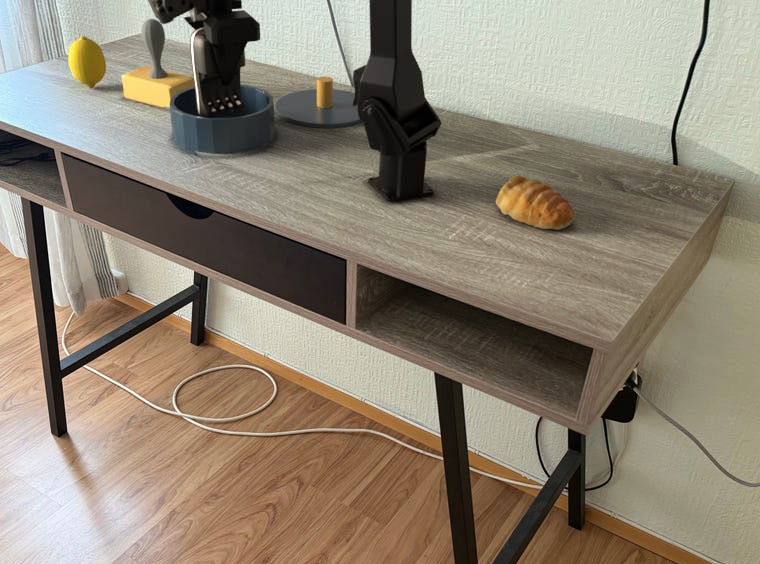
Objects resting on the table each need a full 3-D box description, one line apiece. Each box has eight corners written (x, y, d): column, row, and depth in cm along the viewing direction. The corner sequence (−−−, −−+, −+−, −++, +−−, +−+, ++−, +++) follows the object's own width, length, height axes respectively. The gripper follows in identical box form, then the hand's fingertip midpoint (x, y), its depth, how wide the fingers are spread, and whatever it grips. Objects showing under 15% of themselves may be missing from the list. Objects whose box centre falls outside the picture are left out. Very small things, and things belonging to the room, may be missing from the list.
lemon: (66, 91, 130) (57, 39, 125) (85, 80, 134) (76, 29, 129) (97, 95, 128) (89, 43, 123) (115, 84, 133) (108, 33, 128)
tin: (288, 149, 113) (288, 111, 110) (188, 163, 109) (184, 125, 105) (256, 114, 124) (254, 79, 121) (163, 126, 119) (159, 89, 116)
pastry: (584, 221, 98) (590, 192, 96) (552, 240, 95) (558, 210, 92) (521, 195, 104) (525, 167, 101) (488, 212, 100) (492, 183, 97)
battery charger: (210, 122, 111) (202, 35, 104) (194, 114, 113) (186, 28, 106) (252, 111, 115) (247, 26, 108) (236, 103, 117) (230, 20, 110)
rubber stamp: (197, 100, 128) (190, 20, 120) (173, 111, 124) (164, 29, 116) (148, 88, 131) (138, 9, 124) (123, 98, 127) (111, 18, 120)
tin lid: (390, 124, 122) (392, 89, 119) (295, 137, 117) (295, 101, 114) (349, 91, 133) (350, 59, 130) (262, 102, 128) (260, 69, 125)
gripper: (130, -57, 106) (146, 65, 115) (165, -26, 92) (179, 109, 102) (214, -62, 110) (222, 57, 119) (258, -32, 96) (264, 99, 106)
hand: (220, 79), depth 111 cm, fingers closed on battery charger, 4 cm apart
